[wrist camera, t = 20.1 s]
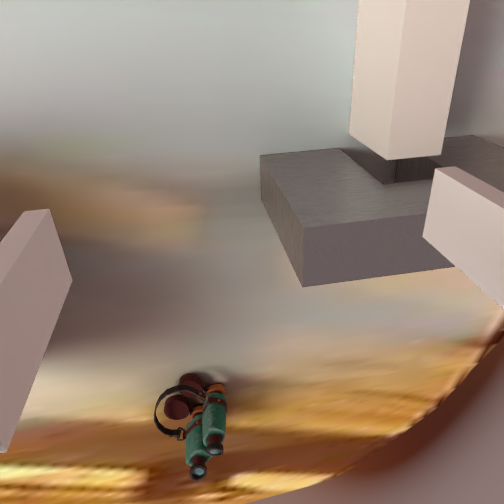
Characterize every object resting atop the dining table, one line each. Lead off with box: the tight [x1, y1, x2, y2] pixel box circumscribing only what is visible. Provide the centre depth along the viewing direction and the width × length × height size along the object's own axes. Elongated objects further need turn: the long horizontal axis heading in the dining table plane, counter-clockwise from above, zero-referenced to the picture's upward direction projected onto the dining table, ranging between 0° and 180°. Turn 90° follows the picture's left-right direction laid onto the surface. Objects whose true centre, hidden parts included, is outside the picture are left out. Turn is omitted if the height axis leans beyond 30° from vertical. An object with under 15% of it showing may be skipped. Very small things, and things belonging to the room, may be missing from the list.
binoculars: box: [154, 374, 227, 481], centre depth 54 cm, size 9×11×10 cm
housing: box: [260, 135, 504, 287], centre depth 38 cm, size 5×24×17 cm, turn 93°
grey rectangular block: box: [349, 0, 470, 160], centre depth 34 cm, size 23×5×9 cm, turn 3°
